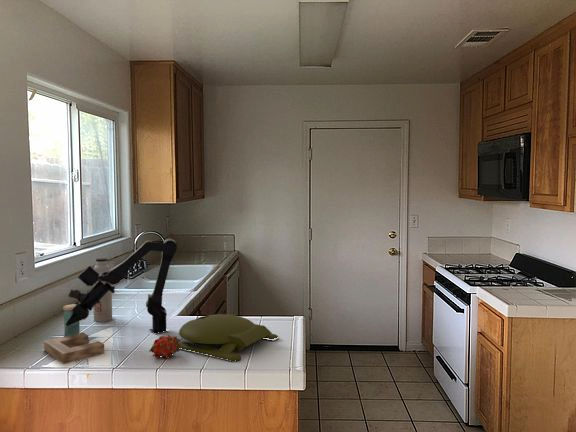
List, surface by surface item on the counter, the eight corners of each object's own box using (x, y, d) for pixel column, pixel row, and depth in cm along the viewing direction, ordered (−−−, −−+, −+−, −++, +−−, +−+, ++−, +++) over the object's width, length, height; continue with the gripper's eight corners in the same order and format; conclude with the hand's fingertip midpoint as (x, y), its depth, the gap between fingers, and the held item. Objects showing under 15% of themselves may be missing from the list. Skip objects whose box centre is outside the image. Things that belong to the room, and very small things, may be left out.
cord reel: (82, 338, 198) (82, 306, 197) (65, 341, 194) (65, 309, 194) (78, 334, 203) (77, 303, 202) (61, 337, 200) (61, 305, 199)
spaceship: (280, 339, 199) (280, 316, 199) (235, 364, 173) (235, 337, 172) (212, 326, 217) (212, 304, 216) (162, 347, 190) (161, 322, 190)
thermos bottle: (102, 322, 220) (100, 260, 218) (89, 320, 224) (88, 259, 222) (116, 318, 227) (114, 258, 225) (103, 315, 231) (102, 256, 229)
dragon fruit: (183, 357, 182) (152, 369, 175) (174, 340, 187) (143, 350, 180) (186, 344, 177) (154, 355, 170) (177, 326, 182) (145, 336, 175)
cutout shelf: (83, 341, 195) (83, 332, 195) (104, 353, 182) (104, 344, 181) (44, 350, 185) (44, 341, 184) (63, 363, 171) (63, 354, 171)
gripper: (84, 276, 207) (56, 303, 205) (77, 285, 189) (47, 315, 187) (104, 293, 210) (77, 320, 208) (100, 304, 192) (70, 334, 190)
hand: (68, 322), depth 198 cm, fingers open, 7 cm apart
